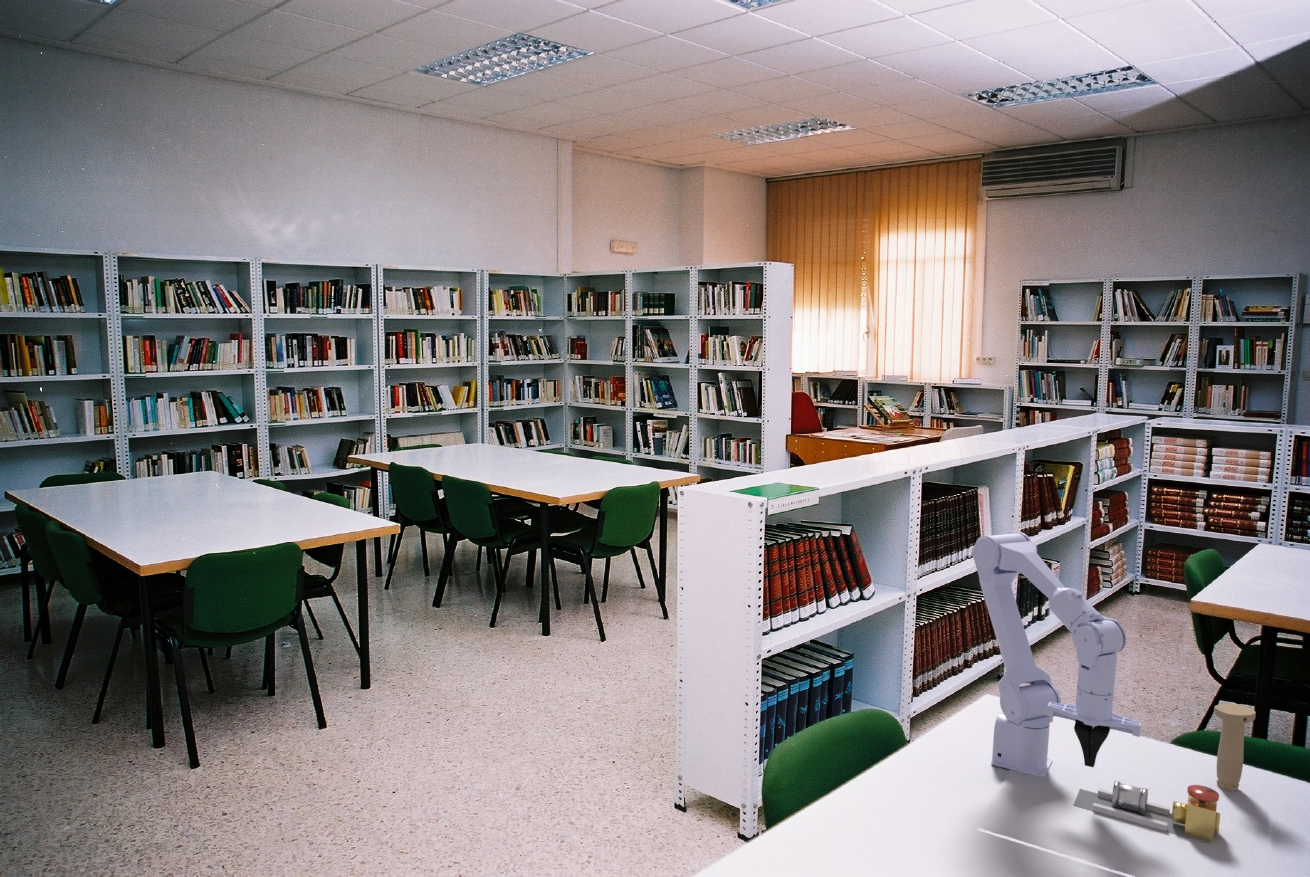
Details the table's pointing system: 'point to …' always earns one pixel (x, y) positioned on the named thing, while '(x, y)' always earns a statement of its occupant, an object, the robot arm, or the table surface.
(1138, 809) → the coupling
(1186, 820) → the valve
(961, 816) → the table surface
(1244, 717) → the handle
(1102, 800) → the grey railed tray
